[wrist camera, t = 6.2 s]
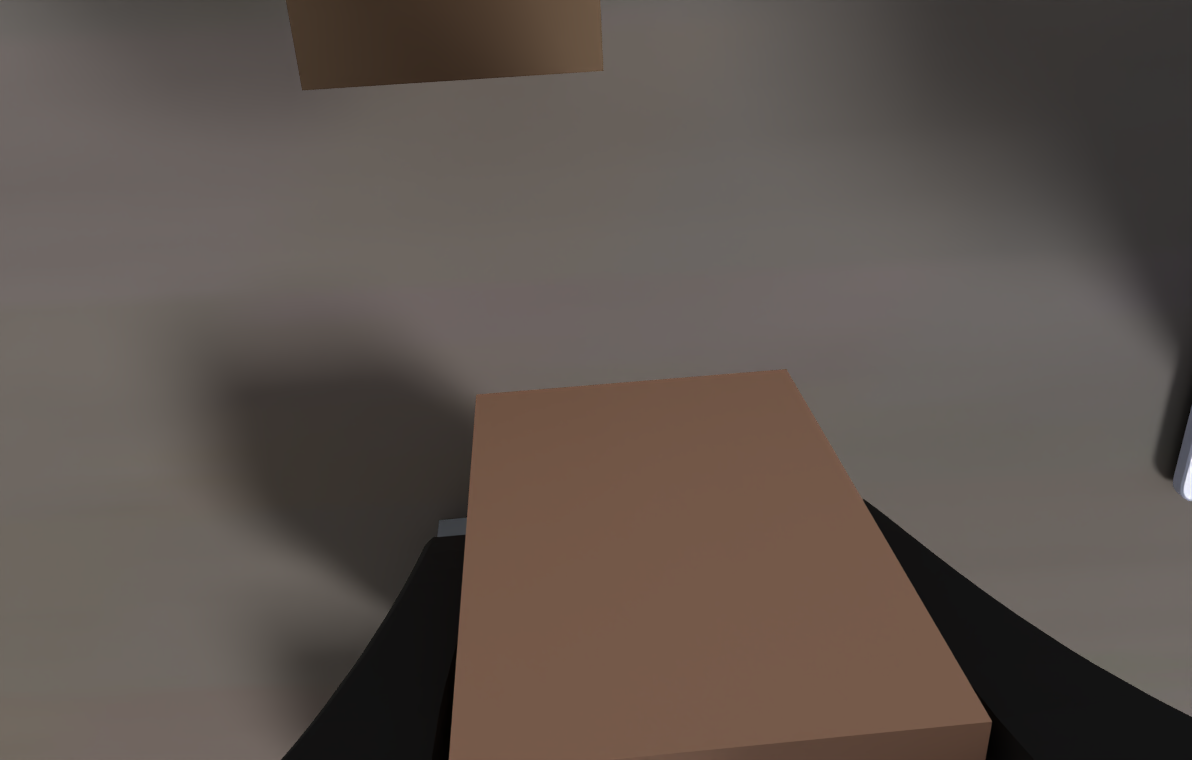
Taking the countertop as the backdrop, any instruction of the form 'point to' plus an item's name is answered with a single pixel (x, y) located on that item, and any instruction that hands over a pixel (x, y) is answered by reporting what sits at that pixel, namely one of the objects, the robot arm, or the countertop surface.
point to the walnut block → (441, 40)
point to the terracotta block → (688, 588)
